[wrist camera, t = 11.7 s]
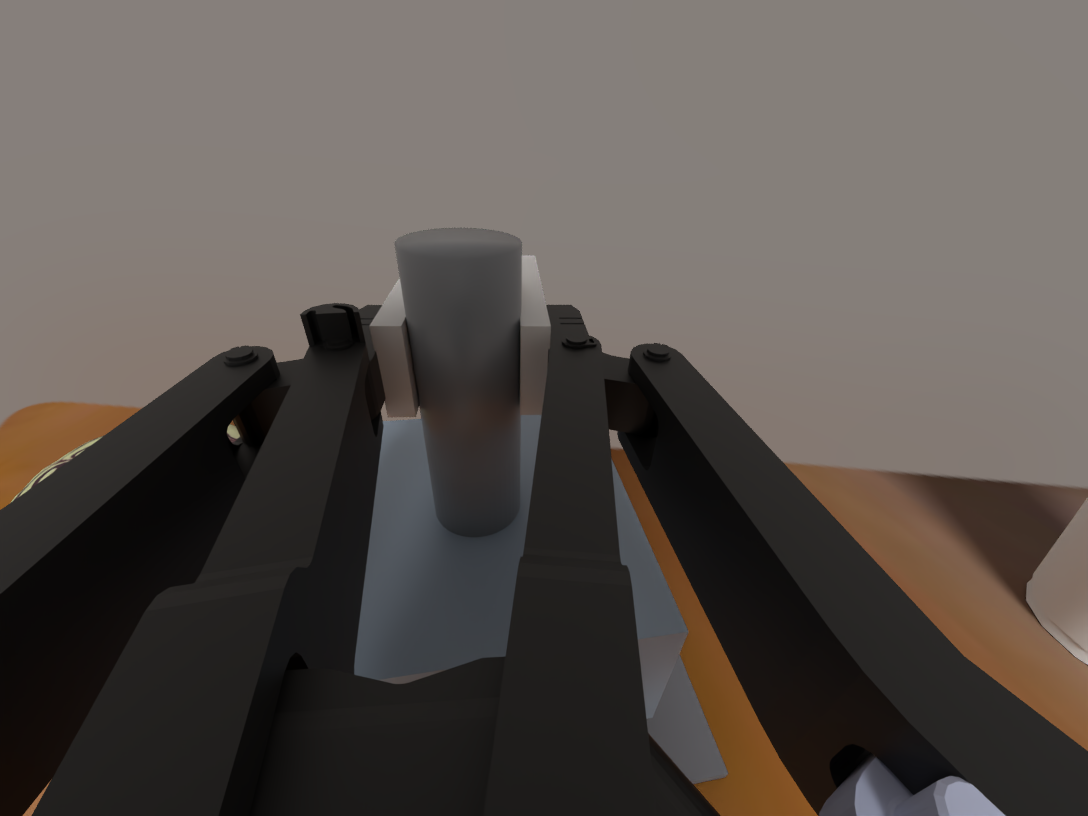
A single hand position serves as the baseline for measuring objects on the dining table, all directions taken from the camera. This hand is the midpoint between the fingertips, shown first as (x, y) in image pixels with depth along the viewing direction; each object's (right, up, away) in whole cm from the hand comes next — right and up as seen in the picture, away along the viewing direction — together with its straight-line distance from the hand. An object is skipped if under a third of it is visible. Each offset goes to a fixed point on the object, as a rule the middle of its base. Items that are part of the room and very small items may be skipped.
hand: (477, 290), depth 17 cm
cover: (0, -13, +2) cm, 13 cm away
